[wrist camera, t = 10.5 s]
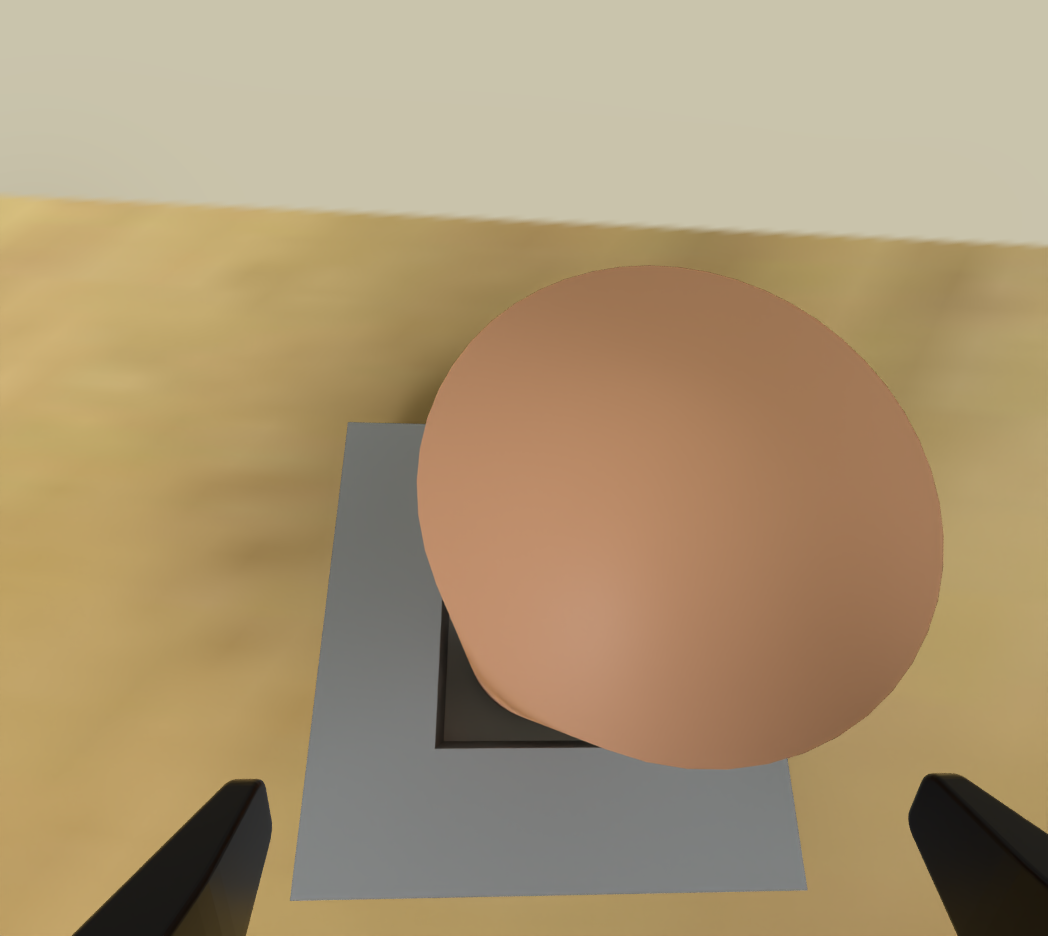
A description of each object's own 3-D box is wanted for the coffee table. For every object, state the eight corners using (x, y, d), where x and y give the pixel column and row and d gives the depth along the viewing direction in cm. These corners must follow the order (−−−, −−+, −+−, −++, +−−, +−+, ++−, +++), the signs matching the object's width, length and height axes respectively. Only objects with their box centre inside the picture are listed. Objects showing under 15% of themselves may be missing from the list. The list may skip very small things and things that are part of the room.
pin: (504, 747, 17) (566, 897, 4) (445, 604, 18) (341, 356, 5) (637, 677, 18) (1056, 608, 5) (571, 547, 19) (754, 213, 6)
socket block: (744, 853, 17) (807, 890, 13) (330, 860, 16) (289, 900, 13) (698, 473, 21) (737, 430, 18) (370, 467, 20) (347, 422, 17)
